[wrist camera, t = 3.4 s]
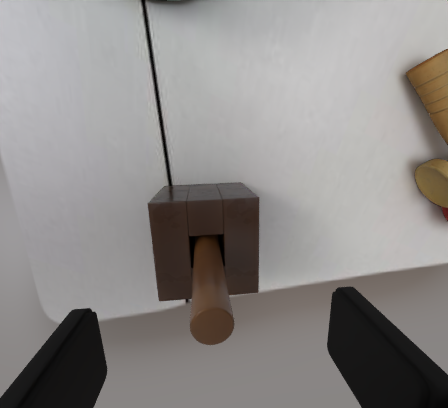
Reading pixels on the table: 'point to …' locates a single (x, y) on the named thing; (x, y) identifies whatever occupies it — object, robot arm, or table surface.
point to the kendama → (443, 120)
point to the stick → (210, 294)
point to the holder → (204, 225)
